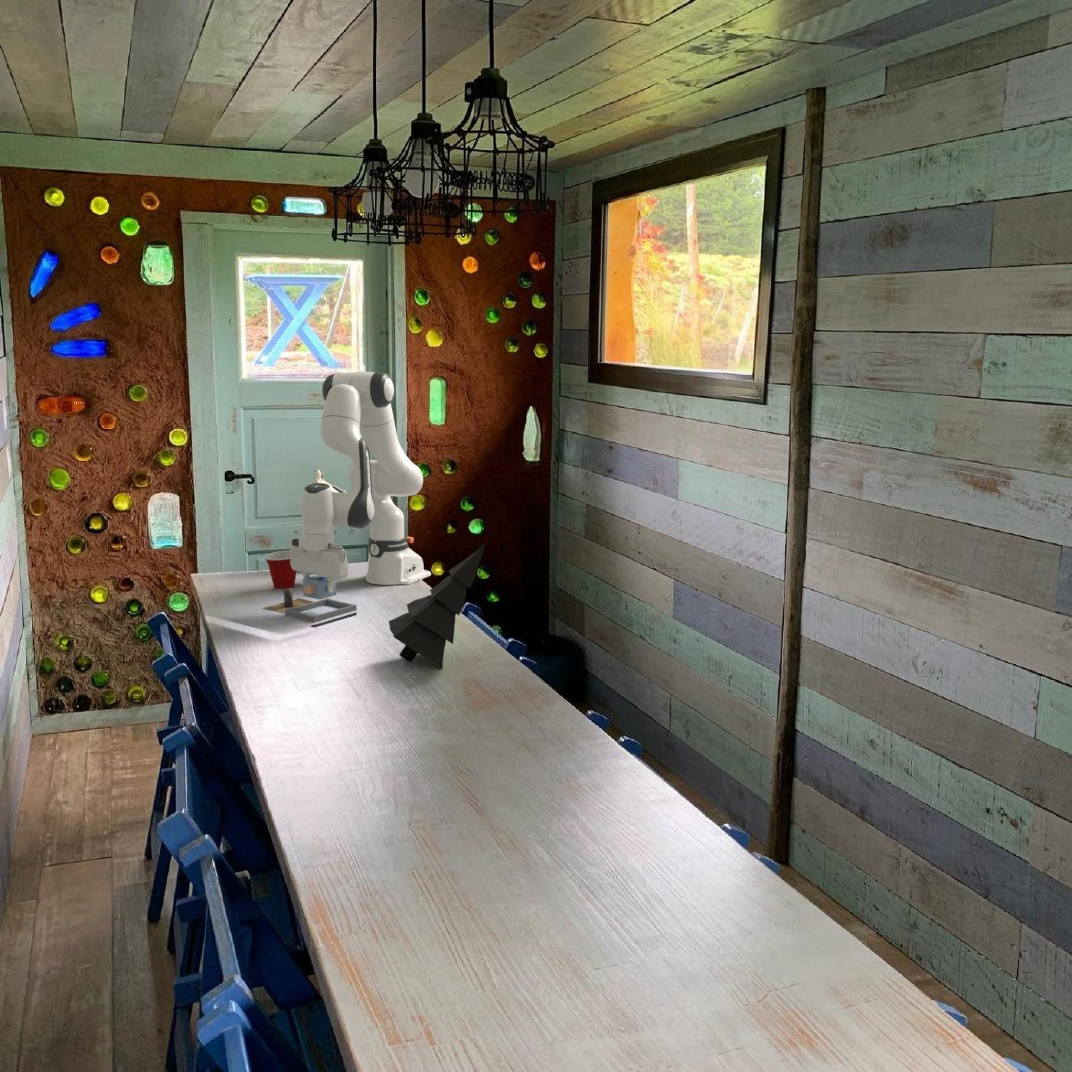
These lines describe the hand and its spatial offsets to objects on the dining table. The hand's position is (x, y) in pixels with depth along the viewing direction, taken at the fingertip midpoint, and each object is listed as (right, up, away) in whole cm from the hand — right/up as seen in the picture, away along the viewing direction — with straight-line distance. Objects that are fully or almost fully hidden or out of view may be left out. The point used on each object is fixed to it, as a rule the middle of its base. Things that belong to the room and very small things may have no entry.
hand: (319, 589), depth 306 cm
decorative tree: (+37, -16, -35) cm, 53 cm away
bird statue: (-8, +4, +61) cm, 62 cm away
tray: (0, -8, +2) cm, 8 cm away
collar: (0, -2, 0) cm, 2 cm away
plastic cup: (-18, -2, +31) cm, 36 cm away
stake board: (-10, -7, +9) cm, 15 cm away
